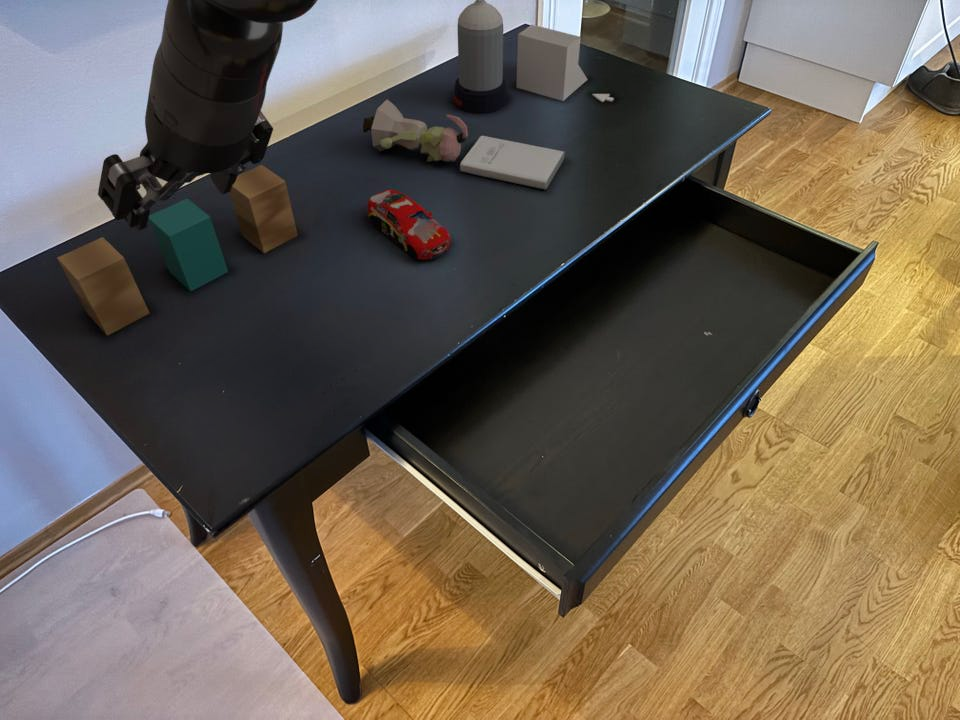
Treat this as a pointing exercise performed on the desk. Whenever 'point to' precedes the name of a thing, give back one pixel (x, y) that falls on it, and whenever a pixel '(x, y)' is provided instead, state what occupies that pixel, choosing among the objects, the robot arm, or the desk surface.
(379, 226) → the race car
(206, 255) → the teal block
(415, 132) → the figurine
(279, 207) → the block right
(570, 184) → the desk surface
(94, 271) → the block left
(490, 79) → the humidifier
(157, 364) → the desk surface
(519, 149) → the hard drive
